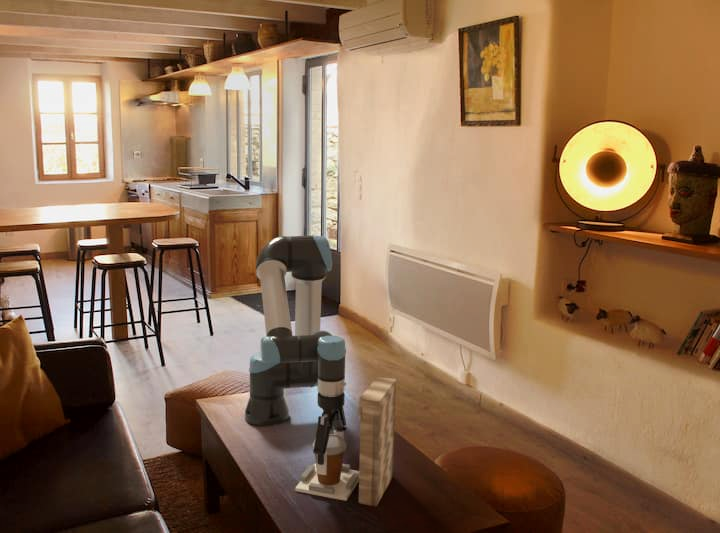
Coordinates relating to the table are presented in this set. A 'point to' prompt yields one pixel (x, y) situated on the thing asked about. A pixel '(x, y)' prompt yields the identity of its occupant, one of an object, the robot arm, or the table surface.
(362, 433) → the upright plywood slab
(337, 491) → the seat plate
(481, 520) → the table surface
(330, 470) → the disposable coffee cup
